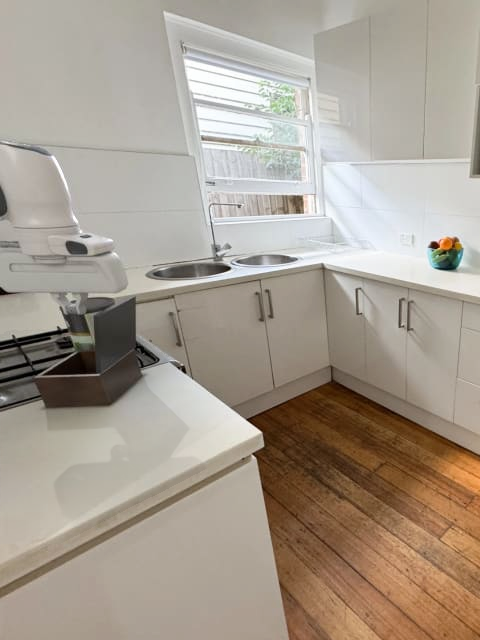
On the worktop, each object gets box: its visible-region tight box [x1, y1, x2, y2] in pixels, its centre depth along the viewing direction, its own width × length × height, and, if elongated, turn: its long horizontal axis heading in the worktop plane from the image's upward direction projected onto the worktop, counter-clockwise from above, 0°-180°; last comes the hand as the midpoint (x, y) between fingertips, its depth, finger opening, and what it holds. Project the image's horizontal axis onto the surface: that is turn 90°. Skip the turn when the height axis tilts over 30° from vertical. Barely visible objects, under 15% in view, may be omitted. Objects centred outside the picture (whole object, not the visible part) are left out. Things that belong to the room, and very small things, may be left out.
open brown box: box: [32, 348, 143, 409], centre depth 80 cm, size 12×13×7 cm
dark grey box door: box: [93, 295, 137, 374], centre depth 77 cm, size 12×13×1 cm
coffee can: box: [58, 296, 116, 352], centre depth 94 cm, size 10×10×14 cm
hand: (76, 313), depth 75 cm, fingers closed
